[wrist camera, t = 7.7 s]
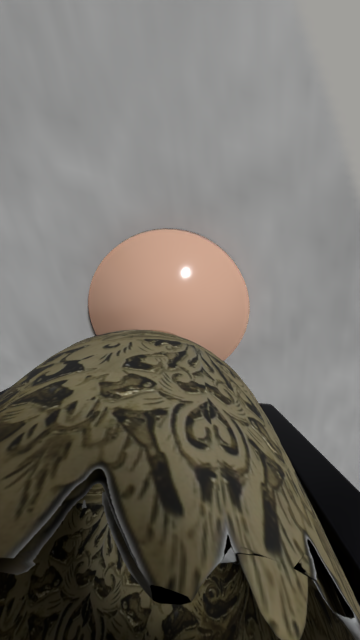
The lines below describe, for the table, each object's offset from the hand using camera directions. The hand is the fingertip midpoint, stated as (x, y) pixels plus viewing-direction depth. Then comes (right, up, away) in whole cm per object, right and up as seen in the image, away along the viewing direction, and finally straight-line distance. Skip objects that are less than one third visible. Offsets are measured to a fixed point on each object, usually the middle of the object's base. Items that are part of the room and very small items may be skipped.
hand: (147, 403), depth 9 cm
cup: (0, +1, +2) cm, 2 cm away
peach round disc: (0, +3, +6) cm, 7 cm away
